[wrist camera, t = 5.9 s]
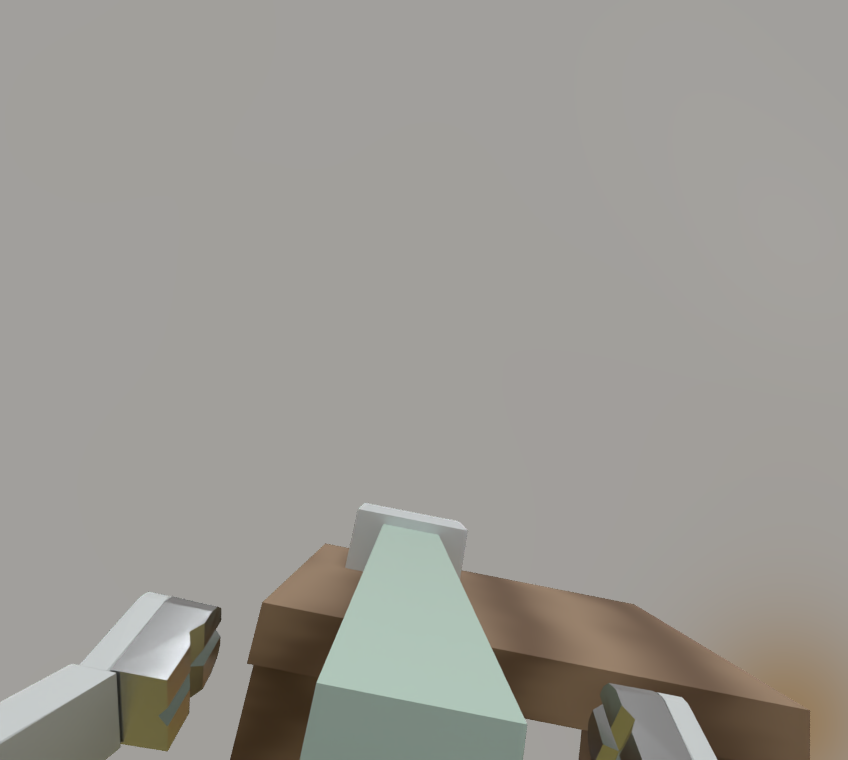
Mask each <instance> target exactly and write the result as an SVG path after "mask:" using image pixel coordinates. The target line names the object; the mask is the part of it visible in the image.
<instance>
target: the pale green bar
mask: <svg viewBox="0 0 848 760" xmlns="http://www.w3.org/2000/svg"><path fill="white" fill-rule="evenodd" d="M467 533H468V530H467V529H466V528H465V527H464V526H463V525H462V524H461V523H460V522H459V521H455V520H450V519H444V518H440V517H434V516H429V515H424V514H419V513H414V512H409V511H404V510H399V509H394V508H389V507H384V506H378V505H374V504H368V503H364V504H363V505H362V506H361V507H360V508H358V511H357V515H356V520H355V524H354V529H353V534H352V538H351V543H350V548H349V552H348V557H347V561H346V566H345V568H348V569H353V570H358V571H363V574H362V576H361V578H360V581H359V583H358V585H357V588H356V590H355V592H354V595H353V597H352V600H351V602H350V604H349V607H348V609H347V611H346V614H345V616H344V619H343V621H342V623H341V626H340V628H339V630H338V633H337V635H336V638H335V640H334V642H333V645H332V647H331V649H330V652H329V654H328V656H327V659H326V661H325V664H324V666H323V668H322V671H321V673H320V675H319V678H318V680H317V683H316V687H315V692H314V696H313V701H312V705H311V710H310V714H309V719H308V724H307V728H306V733H305V737H304V742H303V747H302V751H301V756H300V760H523V755H524V746H525V739H526V730H527V723H526V721H525V719H524V716H523V714H522V712H521V710H520V708H519V706H518V704H517V701H516V699H515V697H514V695H513V693H512V691H511V689H510V686H509V684H508V682H507V680H506V678H505V676H504V674H503V671H502V669H501V667H500V665H499V663H498V661H497V659H496V657H495V654H494V652H493V650H492V648H491V646H490V644H489V642H488V639H487V637H486V635H485V633H484V631H483V629H482V627H481V624H480V622H479V620H478V618H477V616H476V614H475V612H474V609H473V607H472V605H471V603H470V601H469V599H468V597H467V594H466V592H465V590H464V588H463V586H462V584H461V582H460V576H461V570H462V564H463V557H464V550H465V545H466V539H467Z"/></svg>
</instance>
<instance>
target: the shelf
mask: <svg viewBox="0 0 848 760" xmlns="http://www.w3.org/2000/svg"><path fill="white" fill-rule="evenodd" d="M348 552H349V548H345V547H340V546H335V545H330V544H325V545H324V546H322V547H321V548H320V549H319V550H318V551H317V552H316V553H315V554H314V555H313V556H312V557H311V558H309V559H308V561H306V562H305V563H304V564H303V565H302V566H301V567H300V568H299V569H298V570H297V571H296V572H294V573H293V574H292V575H291V576H290V577H289V578H288V579H287V580H286V581H285V582H284V583H283V584H282V585H281V586H279V587H278V588H277V589H276V590H275V591H274V592H273V593H272V594H271V595H270V596H269V597H268V598H267V599H265V600H264V601H263V602H262V607H261V610H260V614H259V618H258V622H257V626H256V630H255V634H254V638H253V642H252V646H251V650H250V654H249V658H248V662H247V664H252V665H254V666H253V670H252V674H251V678H250V682H249V686H248V690H247V694H246V698H245V702H244V706H243V710H242V714H241V718H240V722H239V727H238V731H237V734H236V738H235V742H234V746H233V750H232V754H231V758H230V760H300V756H301V751H302V747H303V742H304V737H305V733H306V728H307V724H308V719H309V714H310V710H311V705H312V701H313V696H314V692H315V687H316V683H317V680H318V678H319V675H320V673H321V671H322V668H323V666H324V664H325V661H326V659H327V656H328V654H329V652H330V649H331V647H332V645H333V642H334V640H335V638H336V635H337V633H338V630H339V628H340V626H341V623H342V621H343V619H344V616H345V614H346V611H347V609H348V607H349V604H350V602H351V600H352V597H353V595H354V592H355V590H356V588H357V585H358V583H359V581H360V578H361V576H362V574H363V571H358V570H353V569H348V568H345V566H346V561H347V557H348ZM460 582H461V584H462V586H463V588H464V590H465V592H466V594H467V597H468V599H469V601H470V603H471V605H472V607H473V609H474V612H475V614H476V616H477V618H478V620H479V622H480V624H481V627H482V629H483V631H484V633H485V635H486V637H487V639H488V642H489V644H490V646H491V648H492V650H493V652H494V654H495V657H496V659H497V661H498V663H499V665H500V667H501V669H502V671H503V674H504V676H505V678H506V680H507V682H508V684H509V686H510V689H511V691H512V693H513V695H514V697H515V699H516V701H517V704H518V706H519V708H520V710H521V712H522V714H523V716H524V718H525V719H530V720H535V721H540V722H546V723H551V724H556V725H561V726H566V727H571V728H576V729H581V730H582V732H581V743H580V752H579V760H591V756H590V752H589V745H588V738H587V736H588V721H589V718H590V716H591V713H592V711H593V709H595V708H597V707H599V706H600V705H602V701H601V698H600V693H601V691H602V688H603V686H605V685H606V684H608V683H612V684H617V685H623V686H628V687H634V688H639V689H645V690H651V691H654V692H658V693H663V694H668V695H673V696H678V697H682V698H683V699H684V700H685V701H686V702H687V703H688V705H689V706H690V708H691V710H692V712H693V714H694V716H695V718H696V720H697V722H698V724H699V725H700V727H701V729H702V731H703V733H704V735H705V737H706V739H707V741H708V743H709V745H710V746H711V748H712V750H713V752H714V754H715V756H716V758H717V760H810V710H808V709H806V708H805V707H803V706H801V705H800V704H798V703H797V702H795V701H793V700H792V699H790V698H788V697H787V696H785V695H783V694H782V693H780V692H778V691H777V690H775V689H773V688H772V687H770V686H769V685H767V684H765V683H764V682H762V681H760V680H759V679H757V678H755V677H753V676H752V675H750V674H748V673H747V672H745V671H744V670H742V669H740V668H739V667H737V666H735V665H734V664H732V663H730V662H729V661H727V660H725V659H724V658H722V657H720V656H719V655H717V654H715V653H714V652H712V651H711V650H709V649H707V648H706V647H704V646H702V645H701V644H699V643H697V642H696V641H694V640H692V639H691V638H689V637H687V636H686V635H684V634H682V633H680V632H679V631H677V630H676V629H674V628H672V627H671V626H669V625H667V624H665V623H664V622H662V621H661V620H659V619H657V618H656V617H654V616H652V615H651V614H649V613H647V612H646V611H644V610H642V609H641V608H639V607H637V606H636V605H634V604H629V603H624V602H619V601H614V600H609V599H604V598H599V597H594V596H589V595H584V594H579V593H574V592H569V591H563V590H558V589H553V588H547V587H543V586H538V585H533V584H527V583H523V582H518V581H512V580H508V579H503V578H498V577H493V576H488V575H482V574H477V573H472V572H467V571H462V570H461V576H460Z"/></svg>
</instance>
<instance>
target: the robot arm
mask: <svg viewBox="0 0 848 760" xmlns="http://www.w3.org/2000/svg"><path fill="white" fill-rule="evenodd" d="M220 621H221V608H219V607H216V606H211V605H207V604H203V603H198V602H194V601H190V600H185V599H181V598H177V597H172V596H167V595H162V594H157V593H152V592H147V593H145V594H144V595H142V596H141V597H139V598H138V600H136V602H135V603H134V604H133V605H132V606H131V607H130V608H129V610H128V611H127V612H126V613H125V614H124V615H123V616H122V617H121V618H120V620H119V621H118V622H117V623H116V624H115V625H114V626H113V627H112V629H111V630H110V631H109V632H108V633H107V634H106V635H105V637H104V638H103V639H102V640H101V641H100V642H99V643H98V644H97V645H96V647H95V648H94V649H93V650H92V651H91V652H90V653H89V654H88V656H87V657H86V658H85V659H84V660H83V661H82V662H81V663H80V665H77V664H70V665H68V666H66V667H64V668H62V669H60V670H59V671H57V672H55V673H53V674H51V675H49V676H48V677H45V678H44V679H42V680H40V681H38V682H36V683H34V684H32V685H31V686H29V687H27V688H25V689H23V690H21V691H19V692H17V693H16V694H14V695H12V696H10V697H8V698H6V699H5V700H3V701H1V702H0V760H106V759H107V758H108V757H109V756H111V755H112V754H113V753H114V752H115V751H117V750H118V749H119V748H120V744H125V745H131V746H137V747H144V748H150V749H156V750H162V751H168V750H169V748H170V746H171V744H172V742H173V741H174V739H175V737H176V735H177V734H178V732H179V730H180V728H181V727H182V725H183V723H184V721H185V720H186V718H187V716H188V714H189V706H190V697H192V696H193V695H195V694H196V693H198V692H199V691H200V690H202V689H203V687H204V685H205V683H206V682H207V680H208V678H209V676H210V674H211V672H212V669H213V667H214V664H215V662H216V659H217V656H218V651H219V647H220V635H219V634H218V632H217V631H216V628H217V626H218V625H219V623H220ZM600 698H601V701H602V705H600V706H599V707H597V708H595V709H593V711H592V713H591V716H590V718H589V721H588V736H587V738H588V745H589V752H590V756H591V760H717V758H716V756H715V754H714V752H713V750H712V748H711V746H710V745H709V743H708V741H707V739H706V737H705V735H704V733H703V731H702V729H701V727H700V725H699V724H698V722H697V720H696V718H695V716H694V714H693V712H692V710H691V708H690V706H689V705H688V703H687V702H686V701H685V700H684V699H683V698H682V697H678V696H673V695H668V694H663V693H658V692H654V691H651V690H645V689H639V688H634V687H628V686H623V685H617V684H612V683H608V684H606V685H605V686H603V688H602V691H601V693H600Z"/></svg>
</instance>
